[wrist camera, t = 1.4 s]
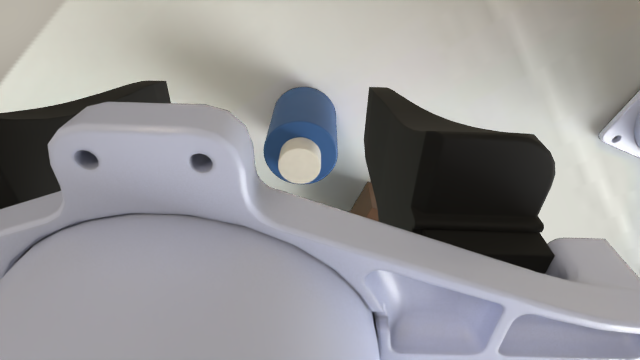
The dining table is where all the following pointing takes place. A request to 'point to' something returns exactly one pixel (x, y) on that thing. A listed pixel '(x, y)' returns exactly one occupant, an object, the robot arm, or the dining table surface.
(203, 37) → the dining table surface
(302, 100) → the blue bottle
